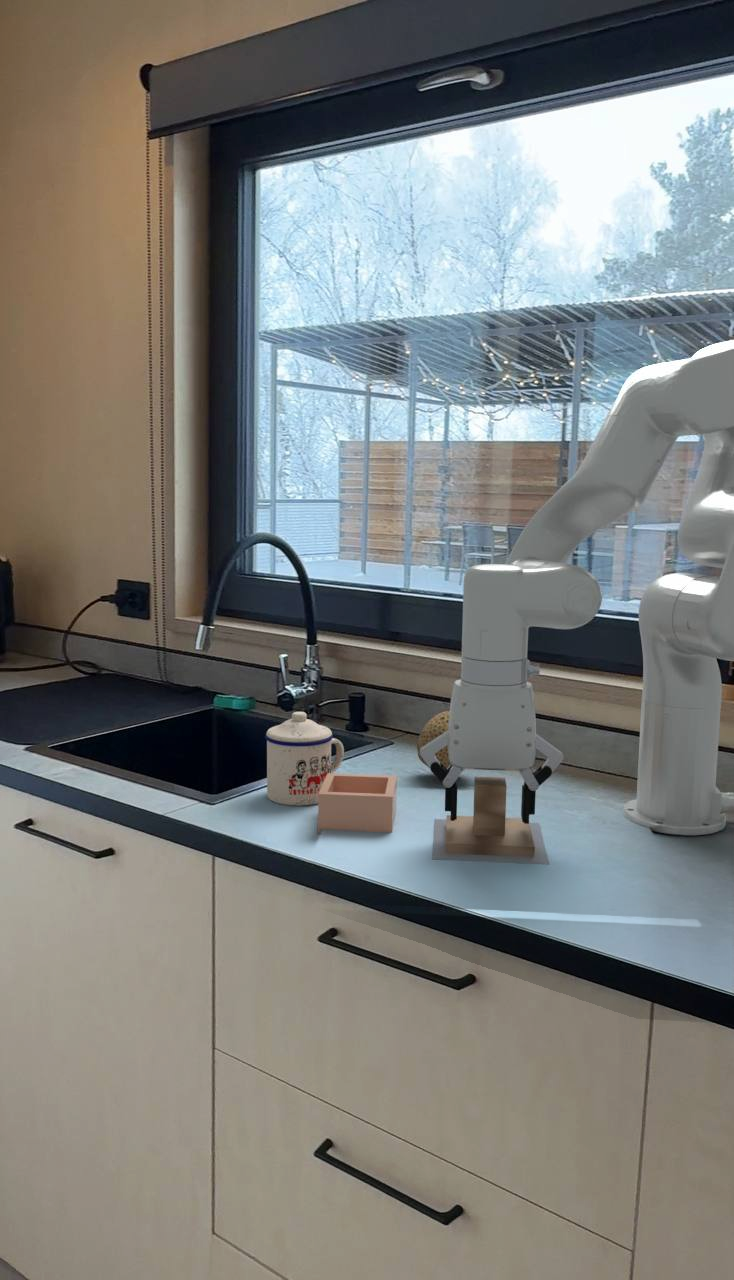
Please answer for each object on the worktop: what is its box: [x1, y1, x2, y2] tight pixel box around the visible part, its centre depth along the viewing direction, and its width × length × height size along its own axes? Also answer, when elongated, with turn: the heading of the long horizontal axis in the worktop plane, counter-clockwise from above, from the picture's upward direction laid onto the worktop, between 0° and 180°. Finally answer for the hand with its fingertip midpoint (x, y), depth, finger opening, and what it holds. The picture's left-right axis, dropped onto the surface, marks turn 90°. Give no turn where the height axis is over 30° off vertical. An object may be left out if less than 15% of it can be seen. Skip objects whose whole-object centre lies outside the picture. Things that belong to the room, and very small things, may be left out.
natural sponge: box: [416, 710, 466, 773], centre depth 147 cm, size 9×9×10 cm
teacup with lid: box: [264, 711, 345, 807], centre depth 139 cm, size 12×9×12 cm
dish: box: [317, 772, 398, 835], centre depth 128 cm, size 9×9×5 cm
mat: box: [431, 818, 550, 866], centre depth 121 cm, size 13×14×1 cm
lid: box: [446, 775, 535, 857], centre depth 120 cm, size 10×10×7 cm
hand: (489, 817), depth 120 cm, fingers open, 7 cm apart
